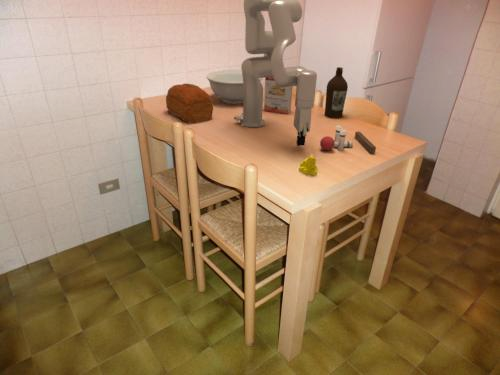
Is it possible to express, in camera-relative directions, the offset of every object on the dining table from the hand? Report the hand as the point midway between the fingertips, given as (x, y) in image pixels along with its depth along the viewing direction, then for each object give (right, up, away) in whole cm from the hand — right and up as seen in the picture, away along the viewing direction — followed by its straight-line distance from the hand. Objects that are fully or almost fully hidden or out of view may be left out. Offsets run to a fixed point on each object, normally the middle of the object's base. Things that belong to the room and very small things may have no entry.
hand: (300, 144), depth 153 cm
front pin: (+14, 0, +2) cm, 14 cm away
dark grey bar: (+29, 0, +5) cm, 29 cm away
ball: (+11, 0, -2) cm, 11 cm away
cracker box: (-7, +24, +45) cm, 51 cm away
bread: (-54, +20, +37) cm, 68 cm away
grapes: (0, -12, -18) cm, 22 cm away
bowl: (-31, +34, +62) cm, 78 cm away
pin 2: (+17, -2, 0) cm, 17 cm away
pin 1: (+17, +1, +5) cm, 17 cm away
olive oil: (+23, +20, +40) cm, 51 cm away
